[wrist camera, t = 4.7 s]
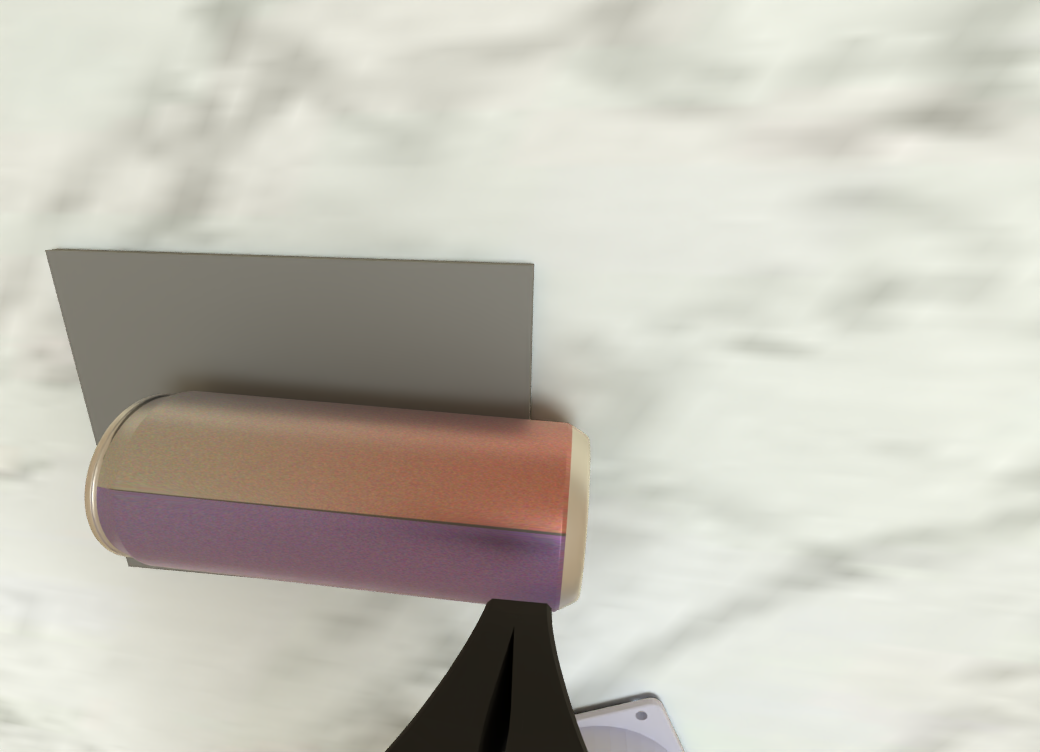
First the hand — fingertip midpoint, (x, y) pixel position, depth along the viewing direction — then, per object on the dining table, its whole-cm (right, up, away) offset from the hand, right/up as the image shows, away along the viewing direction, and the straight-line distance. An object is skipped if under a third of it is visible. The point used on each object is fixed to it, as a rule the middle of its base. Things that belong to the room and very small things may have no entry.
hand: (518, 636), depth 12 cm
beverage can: (+2, +1, +6) cm, 6 cm away
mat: (-9, +3, +10) cm, 13 cm away
